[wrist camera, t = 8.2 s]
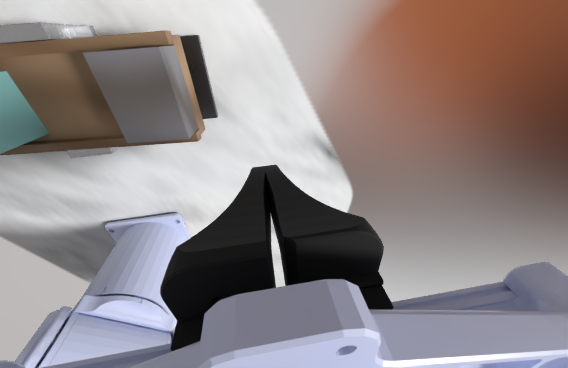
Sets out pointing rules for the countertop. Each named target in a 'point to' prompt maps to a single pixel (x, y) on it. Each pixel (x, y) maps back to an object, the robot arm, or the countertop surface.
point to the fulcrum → (61, 31)
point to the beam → (105, 91)
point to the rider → (16, 117)
